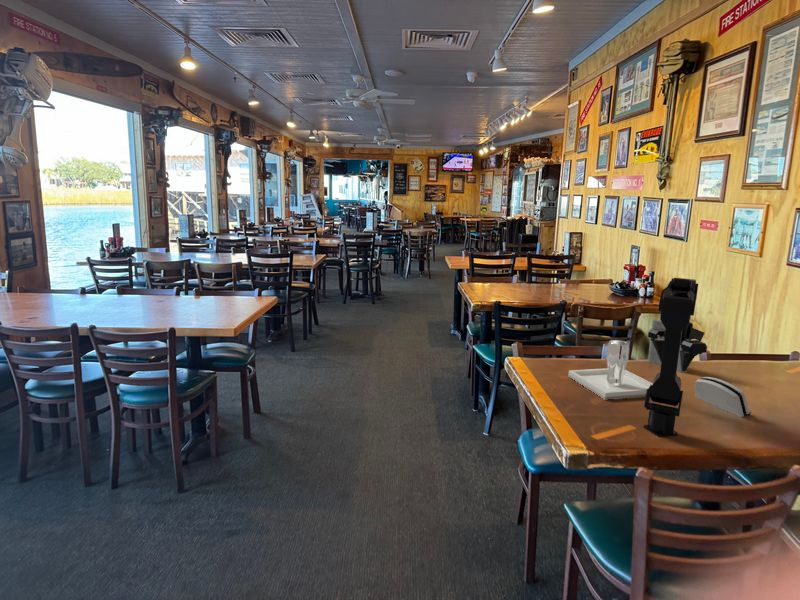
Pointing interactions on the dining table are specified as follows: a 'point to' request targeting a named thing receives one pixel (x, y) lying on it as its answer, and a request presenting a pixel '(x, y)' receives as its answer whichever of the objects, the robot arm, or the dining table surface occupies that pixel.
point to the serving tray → (596, 384)
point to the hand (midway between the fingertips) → (672, 366)
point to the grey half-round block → (722, 395)
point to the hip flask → (653, 354)
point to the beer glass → (617, 362)
